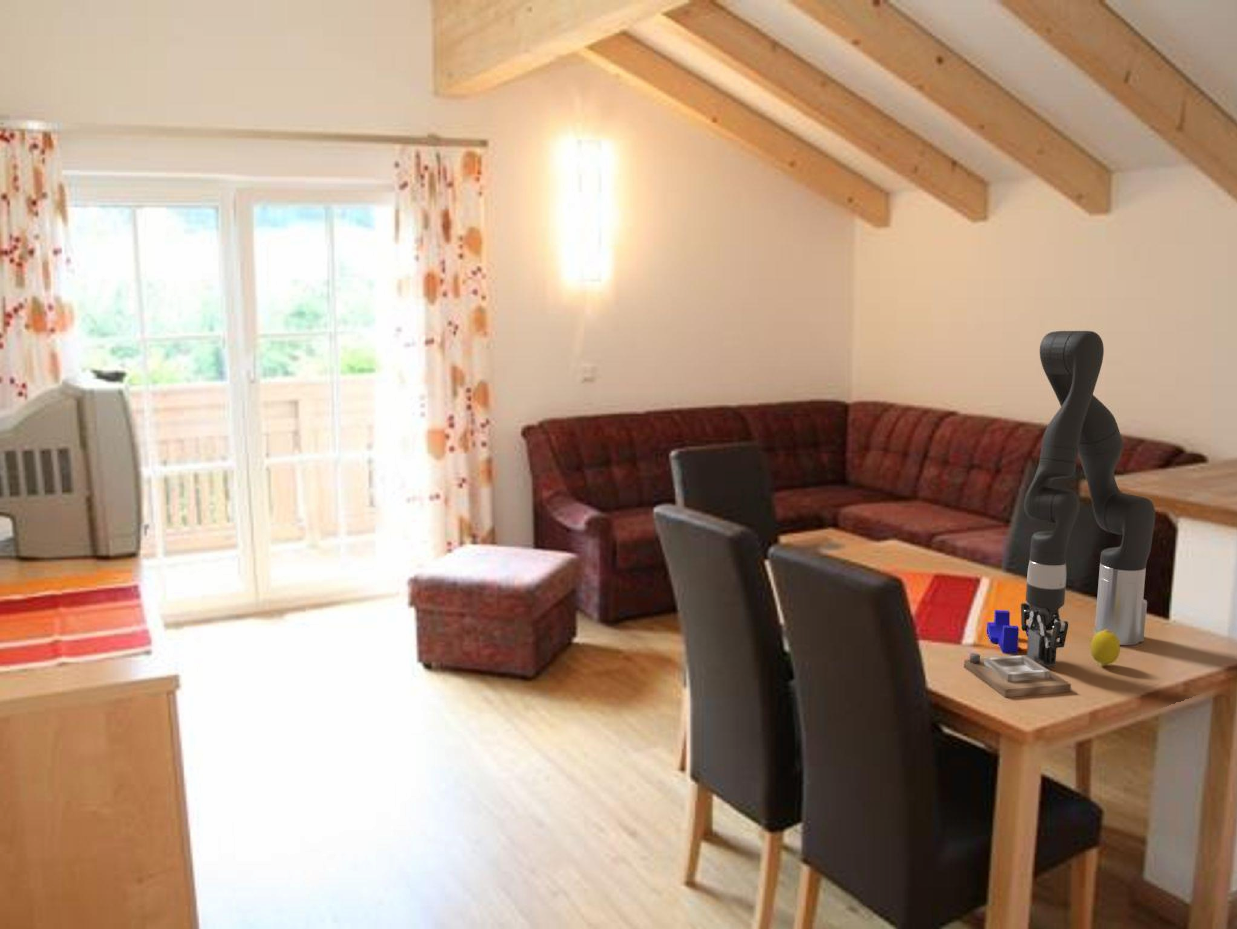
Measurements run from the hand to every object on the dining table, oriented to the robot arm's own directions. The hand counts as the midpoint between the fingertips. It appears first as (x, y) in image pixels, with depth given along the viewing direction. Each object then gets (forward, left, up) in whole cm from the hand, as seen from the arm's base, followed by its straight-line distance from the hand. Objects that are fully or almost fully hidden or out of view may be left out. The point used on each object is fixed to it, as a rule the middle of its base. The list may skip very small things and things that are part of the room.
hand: (1040, 658), depth 216 cm
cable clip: (+2, -12, -1) cm, 13 cm away
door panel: (+10, +7, -1) cm, 12 cm away
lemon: (-12, +4, -1) cm, 13 cm away
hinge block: (0, 0, -1) cm, 1 cm away
